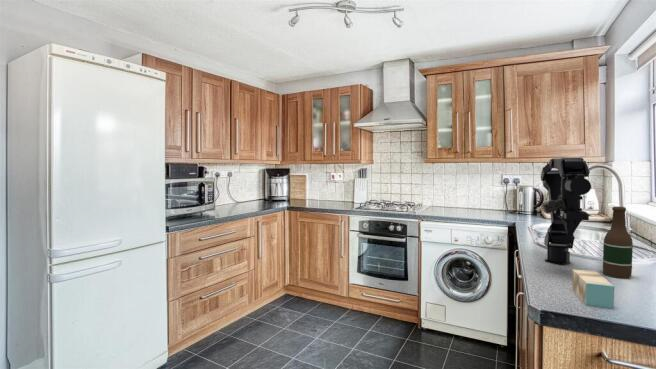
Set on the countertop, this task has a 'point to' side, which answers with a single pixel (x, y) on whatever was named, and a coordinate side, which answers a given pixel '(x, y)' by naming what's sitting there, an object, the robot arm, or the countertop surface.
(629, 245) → the beer bottle
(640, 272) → the countertop surface
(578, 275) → the pine block
